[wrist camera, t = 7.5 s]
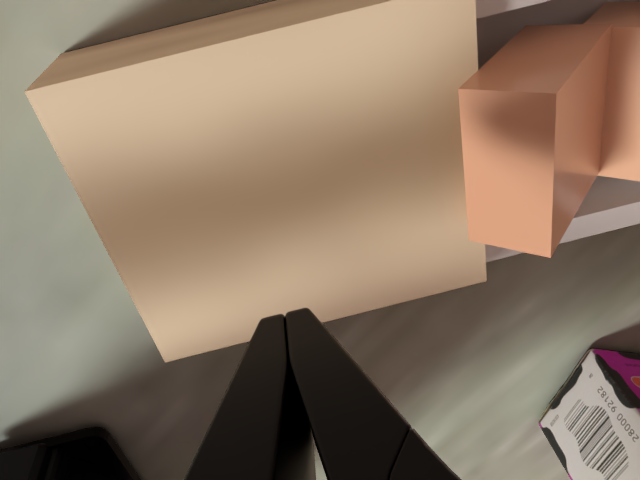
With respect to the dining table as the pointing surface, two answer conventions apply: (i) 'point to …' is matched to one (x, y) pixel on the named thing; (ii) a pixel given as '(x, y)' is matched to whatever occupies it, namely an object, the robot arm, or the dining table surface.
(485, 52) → the tray
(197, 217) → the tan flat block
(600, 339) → the dining table surface
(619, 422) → the candy bar box
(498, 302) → the dining table surface
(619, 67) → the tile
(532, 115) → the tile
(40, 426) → the dining table surface
